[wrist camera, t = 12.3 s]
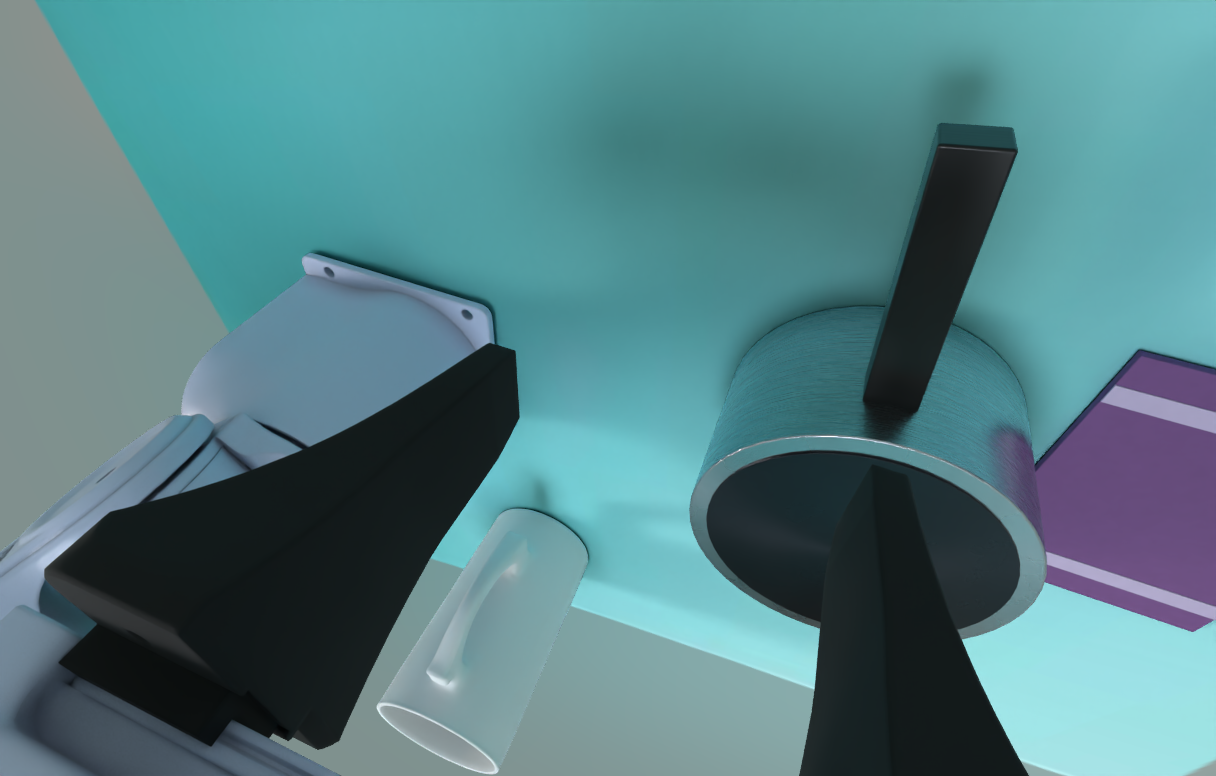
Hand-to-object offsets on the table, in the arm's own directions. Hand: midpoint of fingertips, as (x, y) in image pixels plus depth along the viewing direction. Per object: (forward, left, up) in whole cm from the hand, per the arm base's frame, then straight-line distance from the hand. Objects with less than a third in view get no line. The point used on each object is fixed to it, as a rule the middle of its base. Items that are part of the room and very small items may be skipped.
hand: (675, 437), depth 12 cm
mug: (-8, -23, -10) cm, 26 cm away
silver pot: (+5, -4, -10) cm, 12 cm away
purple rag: (+15, -7, -10) cm, 20 cm away
